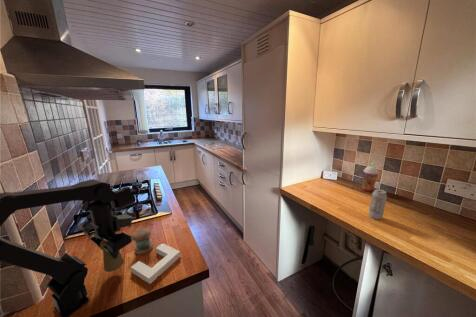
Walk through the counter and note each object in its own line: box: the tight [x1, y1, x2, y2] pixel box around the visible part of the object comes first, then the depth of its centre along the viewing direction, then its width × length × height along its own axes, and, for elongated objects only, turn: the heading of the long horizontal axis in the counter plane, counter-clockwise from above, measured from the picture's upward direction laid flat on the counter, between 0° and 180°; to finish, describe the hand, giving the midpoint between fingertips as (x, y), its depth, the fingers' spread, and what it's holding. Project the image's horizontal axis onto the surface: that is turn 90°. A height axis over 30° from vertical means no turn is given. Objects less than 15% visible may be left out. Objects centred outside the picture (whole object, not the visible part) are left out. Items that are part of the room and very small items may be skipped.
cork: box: [99, 239, 125, 273], centre depth 68 cm, size 6×6×11 cm
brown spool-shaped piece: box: [131, 227, 154, 256], centre depth 81 cm, size 7×7×8 cm
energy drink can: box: [368, 188, 388, 221], centre depth 100 cm, size 6×6×15 cm
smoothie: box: [361, 161, 379, 193], centre depth 131 cm, size 8×8×20 cm
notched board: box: [130, 242, 181, 285], centre depth 73 cm, size 14×10×2 cm
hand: (111, 255), depth 68 cm, fingers closed on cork, 4 cm apart
